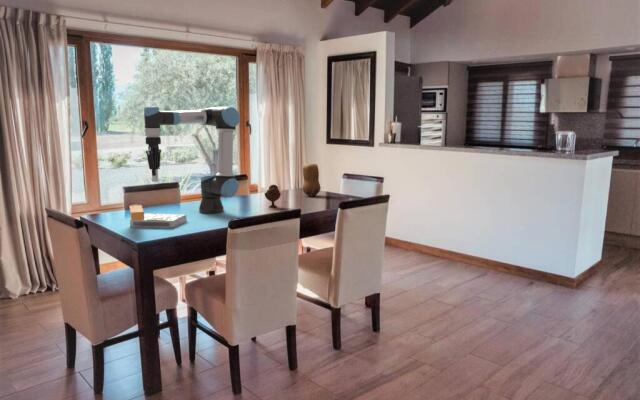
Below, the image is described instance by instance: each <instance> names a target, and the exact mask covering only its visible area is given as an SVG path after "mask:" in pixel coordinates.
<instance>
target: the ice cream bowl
mask: <svg viewBox="0 0 640 400" xmlns="http://www.w3.org/2000/svg"><path fill="white" fill-rule="evenodd" d="M264 196H265V197H264V198H266V200H268V201H269V202H271V205H270V206H269V208H270V209H277V208H278V206H277V205H275V202H276V201H278V200H279V199H280V198H281V196H282V192H280V190H279V186H277V185H276V184H271V185H270V186H269V187H268V189H267V190H266V192H264ZM269 208H268V209H269Z"/></svg>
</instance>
